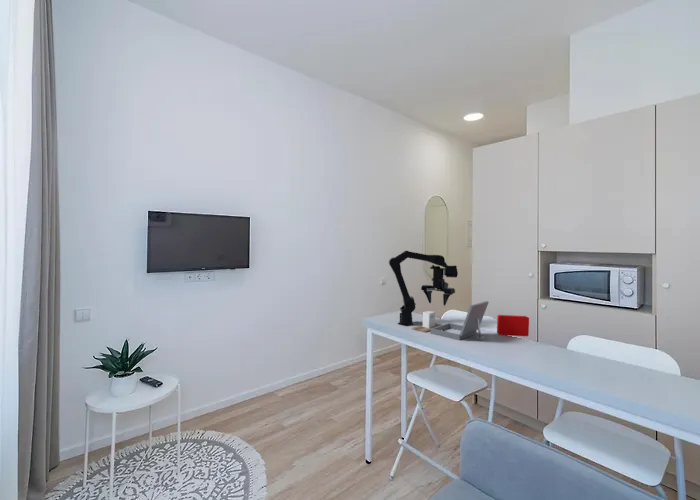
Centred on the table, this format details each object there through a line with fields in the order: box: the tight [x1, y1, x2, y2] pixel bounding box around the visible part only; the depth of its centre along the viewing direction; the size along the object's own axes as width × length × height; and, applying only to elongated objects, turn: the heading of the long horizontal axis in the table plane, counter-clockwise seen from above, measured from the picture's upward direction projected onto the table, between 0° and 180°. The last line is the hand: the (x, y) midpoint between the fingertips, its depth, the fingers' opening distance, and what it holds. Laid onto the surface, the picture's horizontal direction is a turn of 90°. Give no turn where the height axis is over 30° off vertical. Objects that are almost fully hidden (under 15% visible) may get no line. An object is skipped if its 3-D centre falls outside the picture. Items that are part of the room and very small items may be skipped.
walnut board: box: [411, 322, 442, 333], centre depth 191 cm, size 9×20×1 cm, turn 136°
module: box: [422, 310, 436, 328], centre depth 190 cm, size 4×6×8 cm
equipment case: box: [430, 319, 485, 341], centre depth 177 cm, size 24×19×10 cm
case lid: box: [459, 300, 490, 336], centre depth 172 cm, size 16×19×1 cm
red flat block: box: [496, 314, 530, 337], centre depth 180 cm, size 15×3×10 cm, turn 84°
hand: (437, 304), depth 196 cm, fingers open, 9 cm apart
